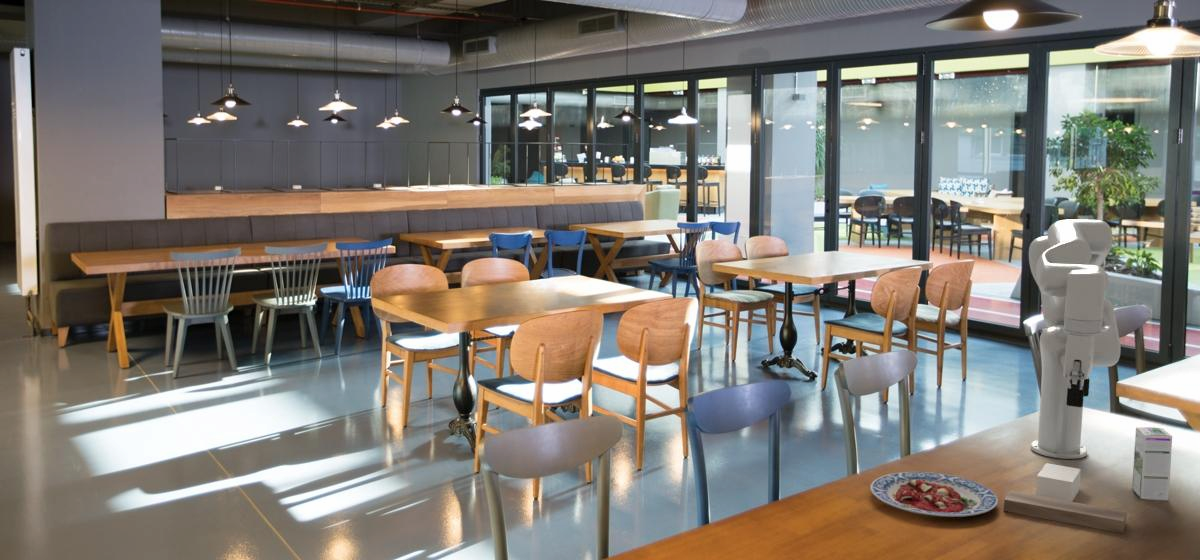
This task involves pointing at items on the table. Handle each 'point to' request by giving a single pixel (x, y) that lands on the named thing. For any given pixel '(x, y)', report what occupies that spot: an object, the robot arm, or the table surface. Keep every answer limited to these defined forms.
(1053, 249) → the robot arm
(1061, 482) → the block
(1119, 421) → the table surface
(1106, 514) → the plank
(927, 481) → the ceramic plate
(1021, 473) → the table surface
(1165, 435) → the syrup box
